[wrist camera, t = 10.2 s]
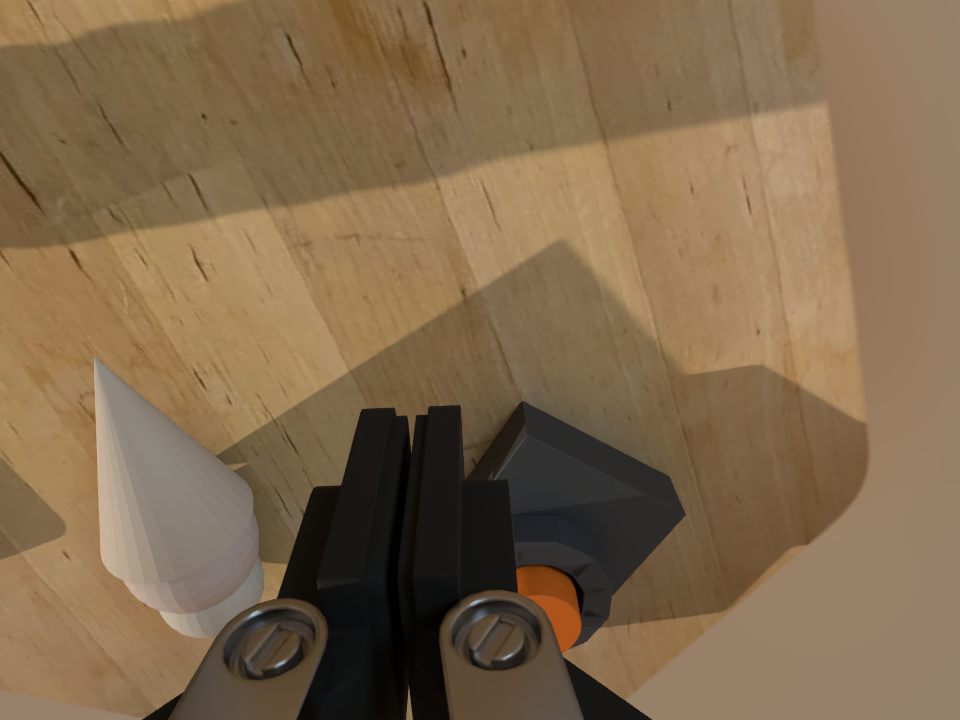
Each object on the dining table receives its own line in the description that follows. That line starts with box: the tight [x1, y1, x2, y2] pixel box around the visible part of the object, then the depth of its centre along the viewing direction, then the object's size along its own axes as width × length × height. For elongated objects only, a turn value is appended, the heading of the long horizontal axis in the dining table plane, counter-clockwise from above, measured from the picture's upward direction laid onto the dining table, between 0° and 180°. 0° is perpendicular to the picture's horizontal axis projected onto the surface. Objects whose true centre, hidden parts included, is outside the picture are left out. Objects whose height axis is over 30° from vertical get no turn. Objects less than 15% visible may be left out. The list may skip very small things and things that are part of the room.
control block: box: [466, 402, 686, 650], centre depth 31 cm, size 12×8×4 cm, turn 149°
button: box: [516, 565, 582, 653], centre depth 29 cm, size 4×4×2 cm
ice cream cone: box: [94, 357, 264, 639], centre depth 28 cm, size 6×6×15 cm
